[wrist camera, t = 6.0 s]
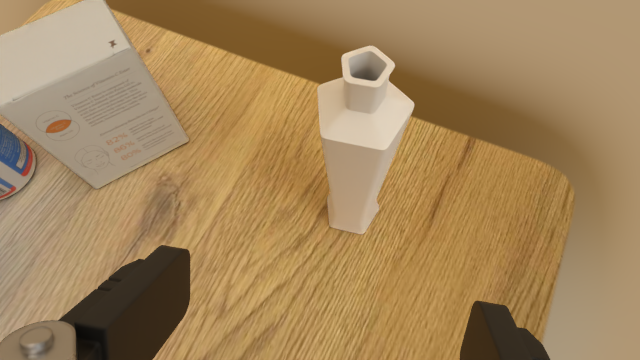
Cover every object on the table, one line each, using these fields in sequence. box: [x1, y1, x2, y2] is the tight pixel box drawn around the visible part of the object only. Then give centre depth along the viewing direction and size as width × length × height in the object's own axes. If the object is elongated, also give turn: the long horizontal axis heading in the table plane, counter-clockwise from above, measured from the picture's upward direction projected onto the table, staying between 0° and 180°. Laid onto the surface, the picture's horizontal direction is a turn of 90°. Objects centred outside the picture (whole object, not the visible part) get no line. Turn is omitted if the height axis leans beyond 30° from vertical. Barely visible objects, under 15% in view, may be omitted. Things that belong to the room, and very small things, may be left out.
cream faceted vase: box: [317, 46, 414, 234], centre depth 23 cm, size 5×4×15 cm
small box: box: [0, 0, 189, 189], centre depth 28 cm, size 8×6×10 cm
